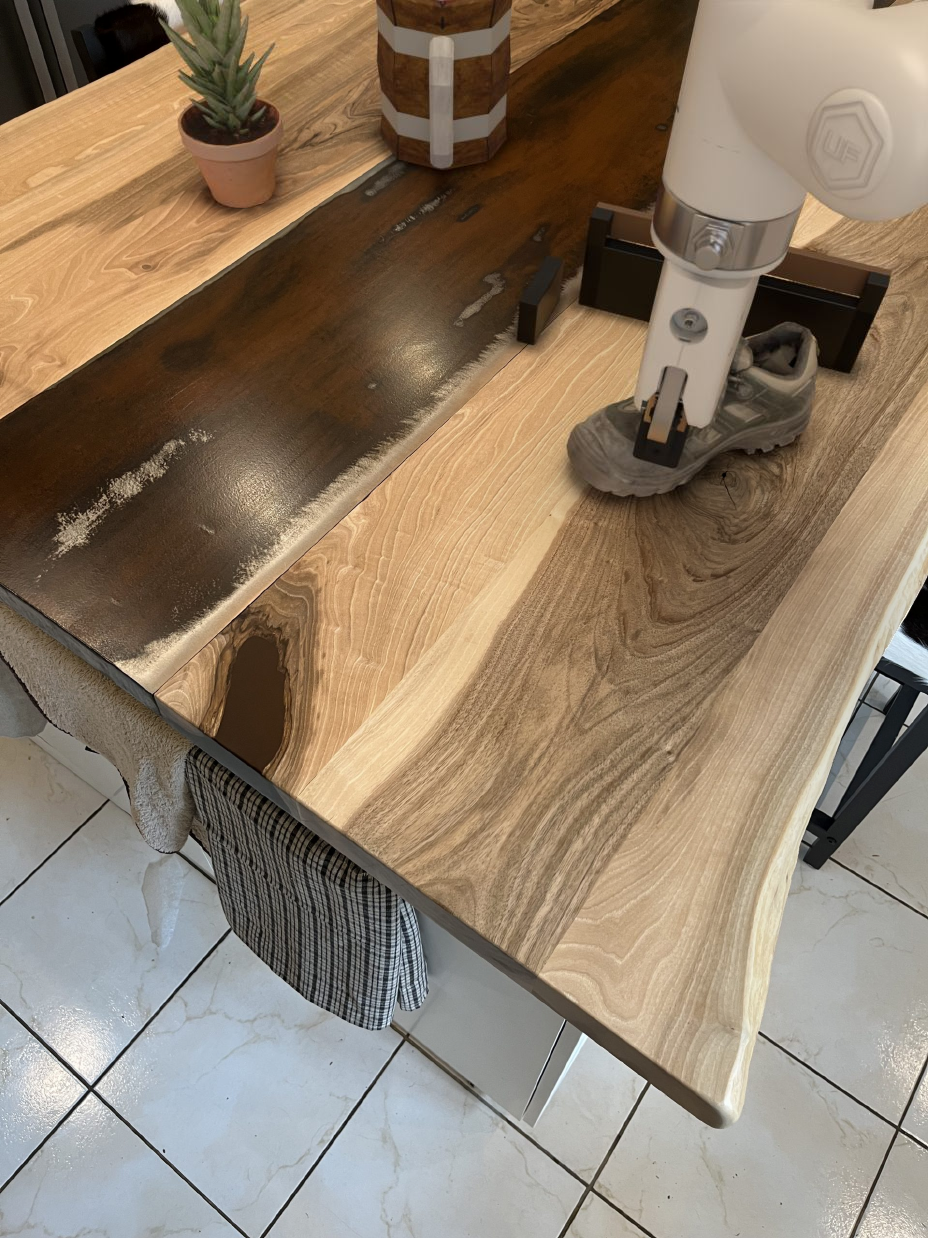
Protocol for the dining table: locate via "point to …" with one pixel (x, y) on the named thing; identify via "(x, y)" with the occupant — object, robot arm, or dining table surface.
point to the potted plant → (226, 105)
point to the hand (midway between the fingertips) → (656, 455)
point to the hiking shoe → (743, 419)
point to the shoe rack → (835, 320)
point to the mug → (444, 79)
